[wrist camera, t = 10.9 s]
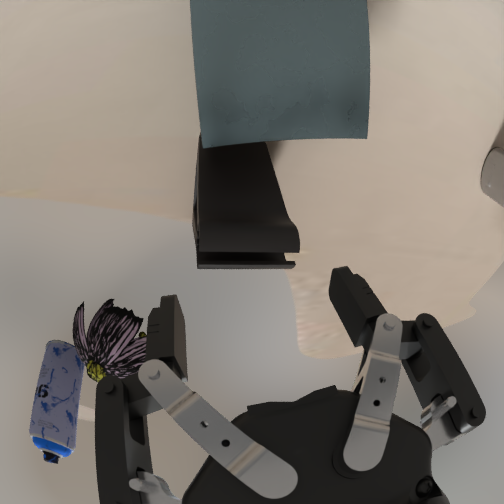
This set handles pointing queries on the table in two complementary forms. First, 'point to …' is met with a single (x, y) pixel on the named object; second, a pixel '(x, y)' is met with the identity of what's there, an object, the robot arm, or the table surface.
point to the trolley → (281, 69)
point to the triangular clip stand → (240, 210)
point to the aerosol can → (57, 401)
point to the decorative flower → (110, 342)
